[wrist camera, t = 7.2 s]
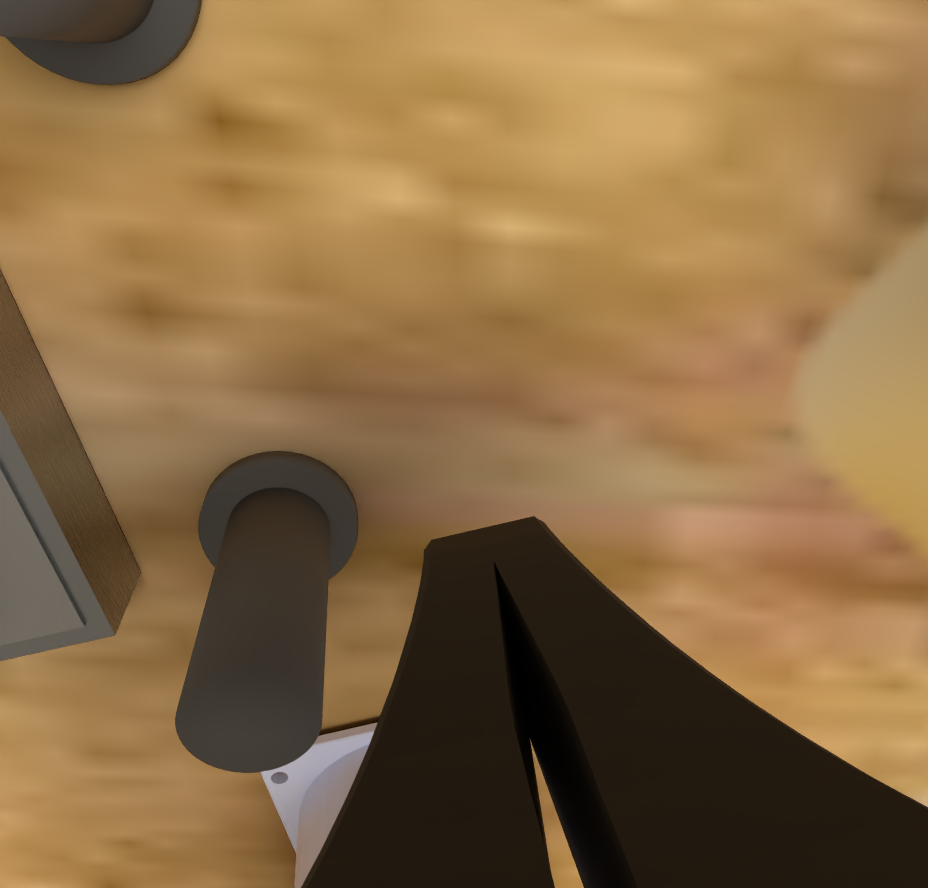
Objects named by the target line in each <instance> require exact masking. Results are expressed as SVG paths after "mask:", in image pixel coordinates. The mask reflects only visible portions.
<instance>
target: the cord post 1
mask: <svg viewBox="0 0 928 888" xmlns="http://www.w3.org/2000/svg"><path fill="white" fill-rule="evenodd" d="M201 1H202V0H0V36H4V37H6V38H7V39H8V40H9V41H10V42H11V43H12V44H13V45H14V46H15V47H17V48H18V49H19V50H20V51H21V52H22V53H23V54H25V55H26V56H27V57H29V58H30V59H32V60H33V61H34V62H36V63H37V64H39V65H41V66H43V67H44V68H46V69H48V70H50V71H52V72H54V73H56V74H59V75H61V76H63V77H66V78H69V79H73V80H76V81H80V82H85V83H91V84H120V83H128V82H134V81H137V80H141V79H144V78H147V77H149V76H151V75H153V74H156V73H157V72H159V71H160V70H162V69H163V68H165V67H166V66H168V65H169V64H170V63H171V62H172V61H173V60H174V59H175V58H176V57H177V56H178V55H179V54H180V53H181V51H182V50H183V49H184V48H185V46H186V44H187V43H188V41H189V39H190V38H191V36H192V34H193V31H194V29H195V26H196V24H197V21H198V17H199V13H200V9H201Z"/></svg>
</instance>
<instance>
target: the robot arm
mask: <svg viewBox="0 0 928 888" xmlns="http://www.w3.org/2000/svg"><path fill="white" fill-rule="evenodd" d="M530 740H531V742H532V745H533V748H534V751H535V754H536V756H537V759H538V762H539V765H540V767H541V770H542V773H543V776H544V779H545V781H546V784H547V787H548V790H549V792H550V795H551V798H552V801H553V803H554V806H555V809H556V812H557V814H558V817H559V820H560V823H561V825H562V828H563V831H564V834H565V836H566V839H567V842H568V845H569V847H570V850H571V853H572V856H573V858H574V861H575V864H576V867H577V869H578V872H579V875H580V878H581V880H582V883H583V886H584V888H928V807H926V806H924V805H923V804H921V803H919V802H917V801H915V800H913V799H911V798H910V797H908V796H906V795H904V794H902V793H900V792H898V791H897V790H895V789H893V788H891V787H889V786H887V785H885V784H884V783H882V782H880V781H878V780H876V779H874V778H873V777H871V776H869V775H867V774H866V773H864V772H862V771H861V770H859V769H857V768H856V767H854V766H852V765H851V764H849V763H847V762H846V761H844V760H842V759H841V758H839V757H838V756H836V755H834V754H833V753H831V752H829V751H828V750H826V749H824V748H823V747H821V746H819V745H818V744H816V743H814V742H813V741H811V740H810V739H808V738H806V737H805V736H803V735H801V734H800V733H798V732H797V731H795V730H794V729H792V728H791V727H789V726H788V725H786V724H785V723H783V722H781V721H780V720H778V719H777V718H775V717H774V716H772V715H771V714H769V713H768V712H766V711H765V710H763V709H762V708H760V707H759V706H757V705H756V704H754V703H753V702H751V701H750V700H748V699H747V698H745V697H744V696H743V695H741V694H740V693H738V692H737V691H735V690H734V689H733V688H731V687H730V686H728V685H727V684H726V683H724V682H723V681H721V680H720V679H719V678H717V677H716V676H715V675H713V674H712V673H710V672H709V671H708V670H706V669H705V668H704V667H703V666H701V665H700V664H699V663H697V662H696V661H695V660H693V659H692V658H691V657H689V656H688V655H687V654H686V653H684V652H683V651H682V650H680V649H679V648H678V647H676V646H675V645H674V644H672V643H671V642H670V641H669V640H668V639H666V638H665V637H664V636H663V635H661V634H660V633H659V632H658V631H657V630H655V629H654V628H653V627H652V626H650V625H649V624H648V623H647V622H646V621H645V620H643V619H642V618H641V617H640V616H639V615H638V614H637V613H635V612H634V611H633V610H632V609H631V608H630V607H628V606H627V605H626V604H625V603H624V602H623V601H622V600H620V599H619V598H618V597H617V596H616V595H615V594H614V593H612V592H611V591H610V590H609V589H608V588H607V587H606V586H605V585H604V584H603V583H602V582H600V581H599V580H598V579H597V578H596V577H595V576H594V575H593V574H592V573H591V572H590V571H589V570H588V569H587V568H586V567H585V566H584V565H583V564H582V563H581V562H580V561H579V560H578V559H577V558H576V557H575V556H574V555H573V554H572V553H571V552H570V551H569V550H568V549H567V548H566V547H565V546H564V545H563V544H562V543H561V542H560V540H559V539H558V538H557V537H556V536H555V535H554V534H553V533H552V531H551V530H550V529H549V528H548V527H547V525H546V524H545V523H544V522H542V521H541V520H539V519H537V518H536V517H534V516H533V517H529V518H524V519H520V520H516V521H511V522H507V523H503V524H498V525H494V526H490V527H485V528H481V529H477V530H472V531H468V532H464V533H459V534H455V535H451V536H446V537H442V538H438V539H433V540H431V541H430V543H429V544H428V546H427V547H426V548H425V550H424V561H423V569H422V576H421V582H420V587H419V592H418V596H417V600H416V605H415V609H414V613H413V617H412V621H411V625H410V628H409V631H408V635H407V638H406V641H405V645H404V648H403V651H402V655H401V658H400V661H399V665H398V668H397V671H396V674H395V677H394V680H393V683H392V686H391V688H390V691H389V694H388V696H387V699H386V702H385V704H384V707H383V710H382V712H381V715H380V718H379V720H378V722H377V723H373V724H368V725H364V726H360V727H355V728H351V729H347V730H342V731H338V732H334V733H329V734H325V735H321V736H318V738H317V740H316V741H315V743H314V744H313V746H312V747H311V748H310V749H309V750H308V751H307V752H306V753H305V754H303V755H302V756H301V757H299V758H298V759H296V760H295V761H293V762H291V763H289V764H287V765H285V766H282V767H280V768H276V769H273V770H268V771H263V772H260V773H261V775H262V778H263V780H264V782H265V784H266V787H267V789H268V791H269V793H270V796H271V798H272V800H273V803H274V805H275V807H276V809H277V812H278V814H279V816H280V818H281V821H282V823H283V825H284V827H285V830H286V832H287V834H288V836H289V839H290V841H291V843H292V846H293V848H294V850H295V852H296V868H295V882H294V888H555V886H554V882H553V878H552V874H551V870H550V864H549V857H548V851H547V845H546V838H545V832H544V825H543V819H542V813H541V806H540V800H539V794H538V787H537V781H536V774H535V768H534V762H533V755H532V749H531V743H530ZM276 772H283V773H276Z"/></svg>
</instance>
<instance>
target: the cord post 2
mask: <svg viewBox="0 0 928 888" xmlns="http://www.w3.org/2000/svg"><path fill="white" fill-rule="evenodd" d="M198 531H199V537H200V542H201V545H202V548H203V550H204V552H205V554H206V556H207V557H208V559H209V560H210V562H211V563H212V564H213V565H214V567H215V571H214V574H213V578H212V582H211V586H210V589H209V593H208V597H207V600H206V604H205V608H204V611H203V615H202V619H201V623H200V626H199V630H198V634H197V637H196V641H195V645H194V648H193V652H192V656H191V660H190V663H189V667H188V671H187V674H186V678H185V682H184V686H183V689H182V693H181V697H180V700H179V704H178V708H177V712H176V717H175V725H176V730H177V734H178V736H179V739H180V740H181V742H182V744H183V745H184V746H185V748H186V749H187V750H188V751H189V752H190V753H191V754H192V755H194V756H195V757H196V758H198V759H199V760H201V761H203V762H204V763H206V764H208V765H211V766H213V767H216V768H219V769H223V770H227V771H232V772H242V773H254V772H263V771H268V770H273V769H276V768H280V767H282V766H285V765H287V764H289V763H291V762H293V761H295V760H296V759H298V758H299V757H301V756H302V755H303V754H305V753H306V752H307V751H308V750H309V749H310V748H311V747H312V746H313V744H314V743H315V741H316V740H317V738H318V735H319V733H320V730H321V726H322V710H323V688H324V666H325V643H326V621H327V599H328V580H329V579H330V578H332V577H333V576H334V575H336V574H337V573H338V572H339V571H340V570H341V569H342V568H343V567H344V565H345V564H346V563H347V561H348V560H349V558H350V557H351V555H352V552H353V550H354V548H355V544H356V541H357V533H358V520H357V508H356V503H355V500H354V497H353V495H352V493H351V491H350V489H349V487H348V486H347V484H346V483H345V482H344V480H343V479H342V478H341V477H340V476H339V475H338V474H337V473H336V472H335V471H333V470H332V469H331V468H330V467H328V466H327V465H325V464H323V463H322V462H320V461H318V460H316V459H313V458H311V457H308V456H305V455H302V454H297V453H292V452H280V451H279V452H265V453H259V454H255V455H252V456H248V457H246V458H243V459H241V460H239V461H237V462H235V463H234V464H232V465H230V466H229V467H228V468H226V469H225V470H224V471H223V472H222V473H221V474H220V475H219V476H218V477H217V478H216V479H215V480H214V482H213V483H212V484H211V486H210V488H209V490H208V492H207V494H206V497H205V500H204V503H203V506H202V509H201V512H200V516H199V522H198Z"/></svg>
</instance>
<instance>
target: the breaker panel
mask: <svg viewBox="0 0 928 888" xmlns="http://www.w3.org/2000/svg"><path fill="white" fill-rule="evenodd" d="M140 574H141V572H140V569H139V567H138V565H137V563H136V561H135V559H134V557H133V554H132V552H131V550H130V548H129V546H128V544H127V542H126V539H125V537H124V535H123V533H122V531H121V529H120V526H119V524H118V522H117V520H116V518H115V516H114V514H113V511H112V509H111V507H110V505H109V503H108V501H107V499H106V496H105V494H104V492H103V490H102V488H101V486H100V484H99V481H98V479H97V477H96V475H95V473H94V471H93V468H92V466H91V464H90V462H89V460H88V458H87V456H86V453H85V451H84V449H83V447H82V445H81V443H80V441H79V438H78V436H77V434H76V432H75V430H74V428H73V426H72V423H71V421H70V419H69V417H68V415H67V413H66V410H65V408H64V406H63V404H62V402H61V400H60V398H59V395H58V393H57V391H56V389H55V387H54V385H53V383H52V380H51V378H50V376H49V374H48V372H47V370H46V368H45V365H44V363H43V361H42V359H41V357H40V355H39V352H38V350H37V348H36V346H35V344H34V342H33V340H32V337H31V335H30V333H29V331H28V329H27V327H26V325H25V322H24V320H23V318H22V316H21V314H20V312H19V310H18V307H17V305H16V303H15V301H14V299H13V297H12V294H11V292H10V290H9V288H8V286H7V284H6V282H5V279H4V277H3V275H2V273H1V271H0V661H3V660H7V659H12V658H16V657H20V656H25V655H29V654H34V653H38V652H43V651H47V650H52V649H56V648H61V647H65V646H70V645H74V644H79V643H83V642H88V641H92V640H97V639H101V638H106V637H110V636H114V635H116V632H117V630H118V627H119V625H120V622H121V620H122V618H123V615H124V613H125V610H126V608H127V606H128V603H129V601H130V598H131V596H132V593H133V591H134V589H135V586H136V584H137V581H138V579H139V576H140Z"/></svg>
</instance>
